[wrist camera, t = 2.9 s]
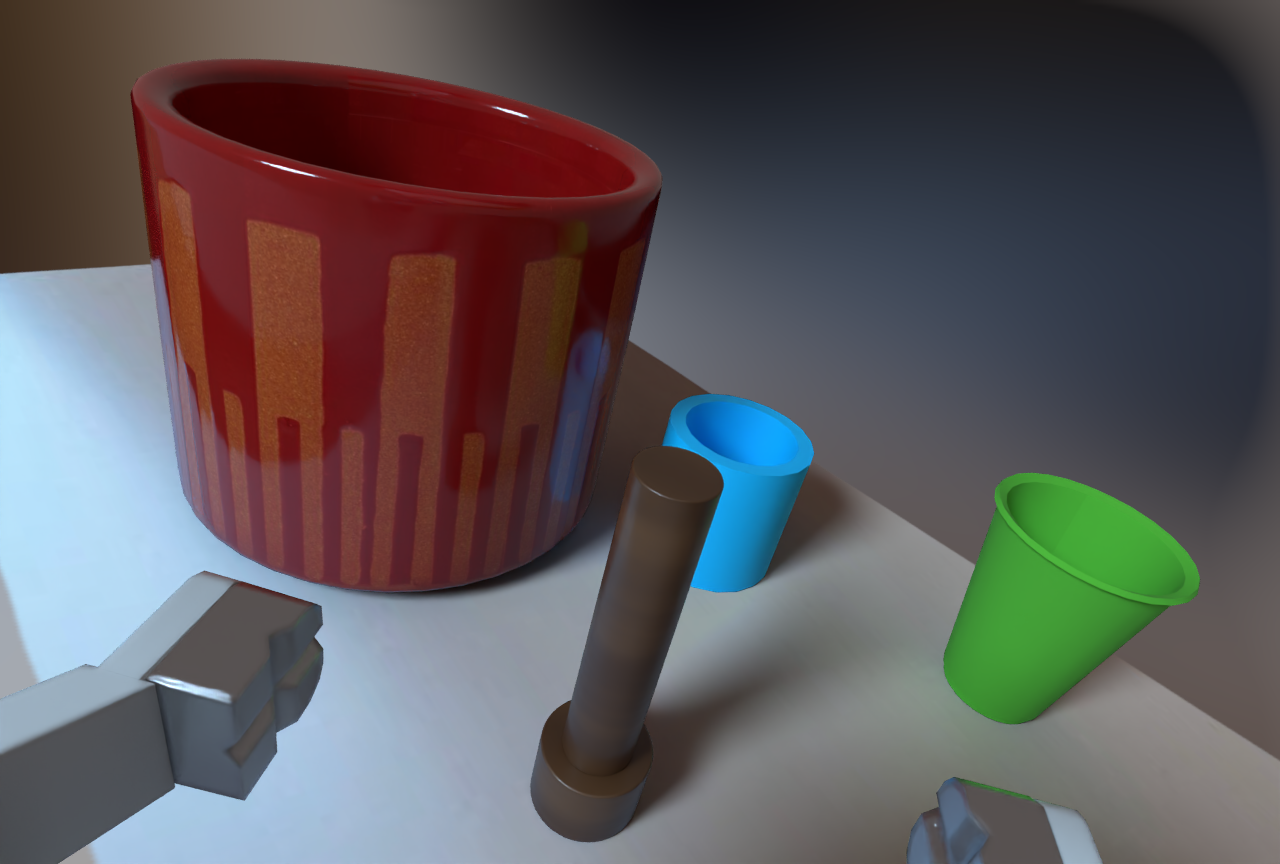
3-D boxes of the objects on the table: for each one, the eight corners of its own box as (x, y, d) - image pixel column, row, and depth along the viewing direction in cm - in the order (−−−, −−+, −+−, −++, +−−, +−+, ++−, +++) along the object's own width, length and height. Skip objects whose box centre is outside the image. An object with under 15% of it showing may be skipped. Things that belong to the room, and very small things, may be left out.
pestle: (628, 856, 28) (749, 536, 20) (516, 825, 28) (591, 494, 20) (644, 756, 32) (752, 452, 24) (545, 729, 32) (619, 417, 24)
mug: (704, 611, 40) (747, 492, 36) (611, 523, 45) (640, 408, 41) (831, 544, 48) (879, 439, 44) (741, 475, 53) (776, 374, 48)
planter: (248, 680, 31) (205, 199, 21) (143, 402, 45) (86, 32, 35) (664, 535, 45) (764, 205, 35) (485, 358, 59) (518, 85, 49)
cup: (894, 701, 38) (993, 537, 32) (917, 599, 45) (1001, 450, 39) (1079, 795, 35) (1221, 634, 30) (1071, 670, 43) (1184, 523, 37)
